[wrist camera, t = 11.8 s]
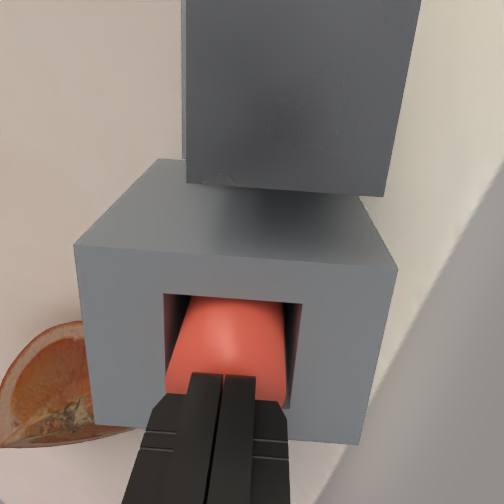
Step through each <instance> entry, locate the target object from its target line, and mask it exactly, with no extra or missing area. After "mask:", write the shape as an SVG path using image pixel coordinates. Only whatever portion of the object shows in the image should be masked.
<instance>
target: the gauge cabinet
mask: <svg viewBox="0 0 504 504" xmlns="http://www.w3.org/2000/svg"><path fill="white" fill-rule="evenodd" d="M73 247H74V255H75V264H76V272H77V280H78V288H79V297H80V305H81V313H82V322H83V330H84V338H85V346H86V355H87V363H88V371H89V379H90V388H91V396H92V404H93V413H94V421H95V424H97V425H109V426H122V427H135V428H146V427H147V424H148V421H149V418H150V415H151V412H152V409H153V408H154V407H155V406H156V405H157V403H158V402H159V401H160V400H161V399H162V398H163V397H164V396H165V395H166V391H165V377H166V373H167V370H168V366H169V363H170V360H171V357H172V354H173V351H174V348H175V345H176V342H177V339H178V336H179V332H180V329H181V326H182V323H183V320H184V317H185V314H186V311H187V308H188V305H189V302H190V298H191V295H193V296H207V297H220V298H233V299H247V300H260V301H274V302H283V315H284V342H285V369H286V396H285V401H284V403H283V406H282V407H281V409H282V411H283V413H284V415H285V416H286V418H287V428H288V440H300V441H312V442H325V443H338V444H351V445H358V444H359V440H360V436H361V431H362V427H363V423H364V418H365V414H366V409H367V405H368V400H369V396H370V391H371V387H372V383H373V378H374V374H375V369H376V365H377V360H378V356H379V351H380V347H381V343H382V338H383V334H384V329H385V325H386V320H387V316H388V311H389V307H390V302H391V298H392V294H393V289H394V285H395V280H396V276H397V271H398V267H397V265H396V264H395V262H394V260H393V258H392V256H391V255H390V253H389V251H388V249H387V247H386V246H385V244H384V242H383V240H382V238H381V237H380V235H379V233H378V231H377V229H376V227H375V226H374V224H373V222H372V220H371V218H370V217H369V215H368V213H367V211H366V209H365V208H364V206H363V204H362V202H361V200H360V199H359V197H358V195H347V194H333V193H319V192H305V191H291V190H277V189H262V188H248V187H234V186H220V185H206V184H192V183H186V161H182V160H168V159H158V160H157V161H156V162H155V163H154V164H153V165H152V166H151V167H150V168H149V169H148V170H147V171H146V172H145V173H144V174H143V175H142V176H141V177H140V178H139V179H138V180H137V181H136V182H135V183H134V184H133V185H132V186H131V187H130V188H129V189H128V190H127V191H126V192H125V193H124V194H123V195H122V196H121V197H120V198H119V199H118V200H117V201H116V202H115V203H114V204H113V205H112V206H111V207H110V208H109V209H108V210H107V211H106V212H105V213H104V214H103V215H102V216H101V217H100V218H99V219H98V220H97V221H96V222H95V223H94V224H93V225H92V226H91V227H90V228H89V229H88V230H87V231H86V232H85V233H84V234H83V235H82V236H81V237H80V238H79V239H78V240H77V241H76V242H75V243H74V244H73Z"/></svg>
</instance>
